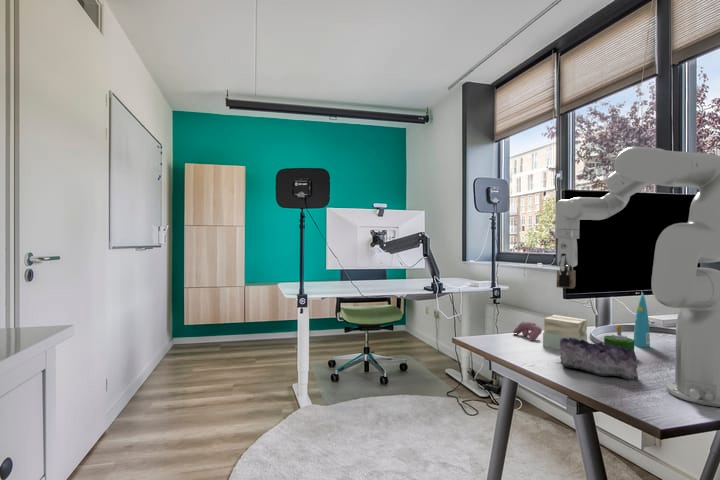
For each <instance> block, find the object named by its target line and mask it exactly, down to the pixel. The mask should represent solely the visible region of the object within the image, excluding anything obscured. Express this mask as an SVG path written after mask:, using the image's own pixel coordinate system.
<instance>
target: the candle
mask: <svg viewBox="0 0 720 480" xmlns="http://www.w3.org/2000/svg"><path fill="white" fill-rule="evenodd" d="M616 331H617V332H616V333H615V332H613V333H611V335H605V336H603V340H604V341H603V345H605V344H606V343H609V344H612V345H613V346H614V347H617V346H620V347H624V348H625V349H627V348H630V349H631V351H634V352H635V345H634V338H630V337H628V335H627V334H624V333H622V331H623V327H622V325H620V324H619V325H617V327H616Z"/></svg>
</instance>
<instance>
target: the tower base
mask: <svg viewBox="0 0 720 480" xmlns="http://www.w3.org/2000/svg"><path fill="white" fill-rule="evenodd" d="M561 338H567V339H569V338H572V339H573V338H574V337H568V336H563V335H558V334H552V333H547V332H544V331H543V332H542V346H543V347H547V348H552V349H559V350H561V347H560V345H559V344H560V339H561ZM575 339H577V340H579V341H581V340H584V341H586V342H588V332H587V333H586V334H585V335H583V336H581V337H579V338H575Z"/></svg>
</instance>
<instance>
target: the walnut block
mask: <svg viewBox="0 0 720 480" xmlns="http://www.w3.org/2000/svg"><path fill="white" fill-rule="evenodd" d="M559 275H560V269H558V270H556V288H561V289H575V287H576V270H575V269H573V270H569V275H570V286H569V287H563V286H559Z"/></svg>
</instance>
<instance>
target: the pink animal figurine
mask: <svg viewBox="0 0 720 480" xmlns="http://www.w3.org/2000/svg"><path fill="white" fill-rule="evenodd" d="M529 331H530V332H529ZM513 333H517V334H513ZM521 333H522V336H524V337H529V340H530V341H535V340H537V339H538V337H539V336H540V335H541V334H542V333H543V332H542V328H541V327H540V326H539V325H537V324H536V323H534V322H531V321H522V322H520V323H519V324H518V325H517V327H515V329H514V330H513V332H512V334H513V336H518V335H519V334H521Z"/></svg>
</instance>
